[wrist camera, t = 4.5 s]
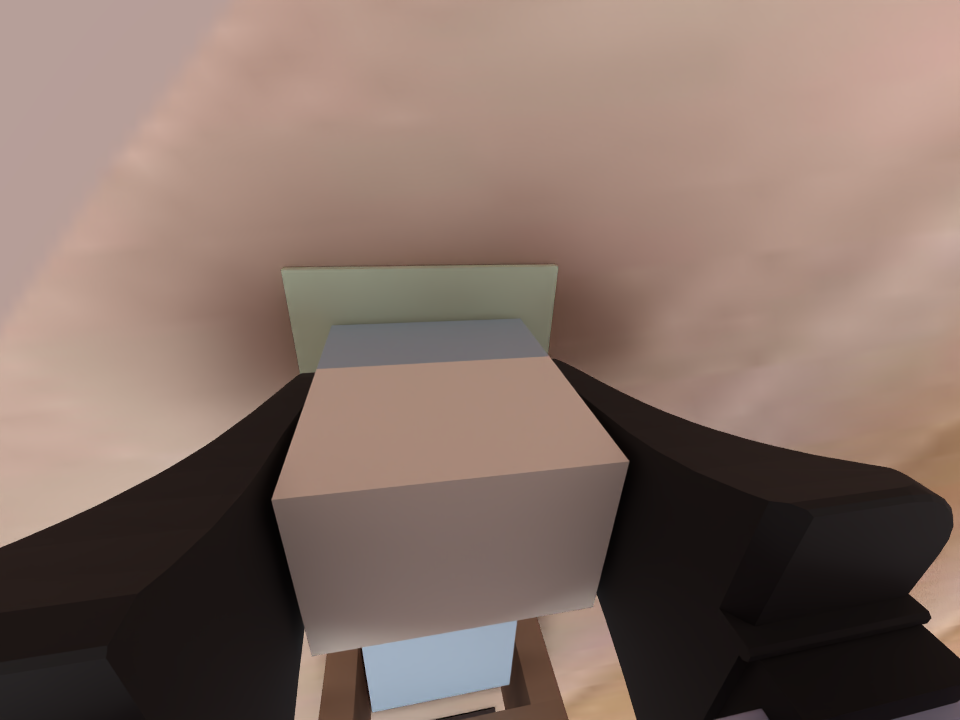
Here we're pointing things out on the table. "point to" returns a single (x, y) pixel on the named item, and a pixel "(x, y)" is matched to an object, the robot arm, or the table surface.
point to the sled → (442, 501)
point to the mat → (414, 298)
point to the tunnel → (527, 716)
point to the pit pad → (471, 714)
